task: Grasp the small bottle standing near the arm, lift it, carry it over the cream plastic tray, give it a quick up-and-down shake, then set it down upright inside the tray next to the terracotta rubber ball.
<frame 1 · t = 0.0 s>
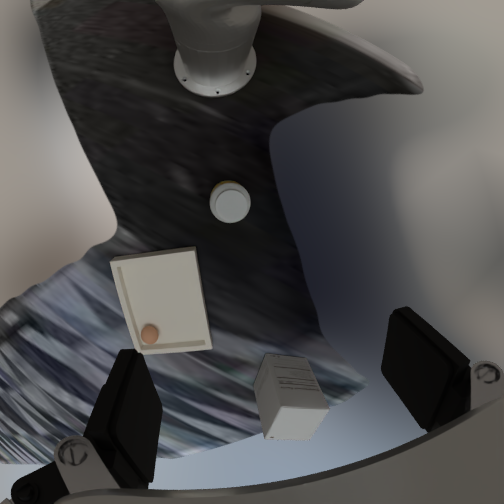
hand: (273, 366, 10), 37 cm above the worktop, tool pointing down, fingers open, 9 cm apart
ball: (151, 330, 48), point 1 cm above the worktop, touching tray
tray: (164, 301, 48), on the worktop
supplement bottle: (228, 197, 44), on the worktop
supplement box: (279, 371, 55), on the worktop
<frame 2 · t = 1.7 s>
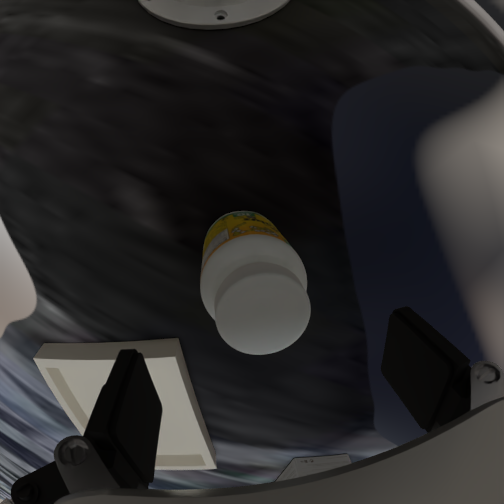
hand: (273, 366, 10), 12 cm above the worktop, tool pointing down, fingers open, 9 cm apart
tray: (134, 410, 25), on the worktop
supplement bottle: (242, 245, 21), on the worktop
supplement box: (309, 469, 33), on the worktop
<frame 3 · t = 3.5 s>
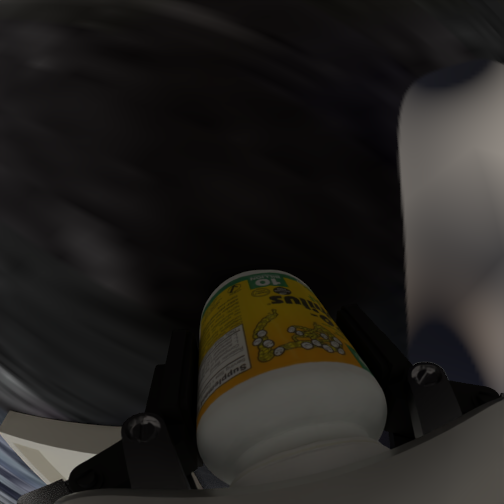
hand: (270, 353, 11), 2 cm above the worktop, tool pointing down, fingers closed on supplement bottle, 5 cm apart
tray: (124, 484, 17), on the worktop
supplement bottle: (260, 318, 13), on the worktop, touching gripper
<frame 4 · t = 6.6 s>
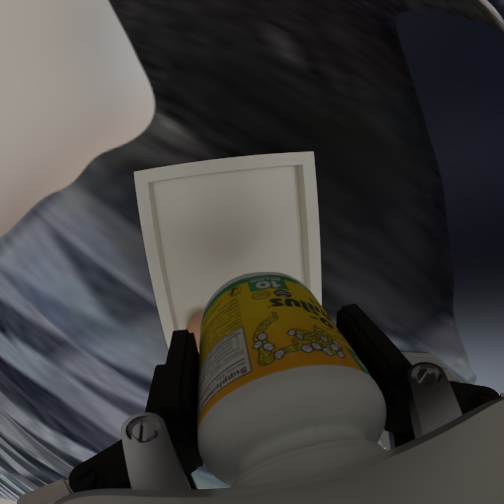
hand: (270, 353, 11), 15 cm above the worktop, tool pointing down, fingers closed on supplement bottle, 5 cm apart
ball: (204, 323, 26), point 1 cm above the worktop, touching tray
tray: (234, 263, 26), on the worktop
supplement bottle: (260, 320, 13), point 13 cm above the worktop, touching gripper
supplement box: (395, 378, 33), on the worktop
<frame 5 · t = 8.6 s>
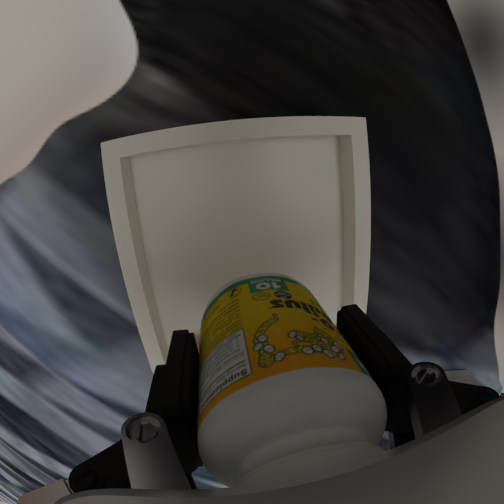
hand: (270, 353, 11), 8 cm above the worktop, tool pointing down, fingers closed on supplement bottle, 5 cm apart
tray: (248, 274, 18), on the worktop
supplement bottle: (260, 321, 13), point 5 cm above the worktop, touching gripper
supplement box: (427, 398, 26), on the worktop
when the fingers open (5 cm above the worktop, at t = 10.1 s): supplement bottle drops 2 cm, resting on tray.
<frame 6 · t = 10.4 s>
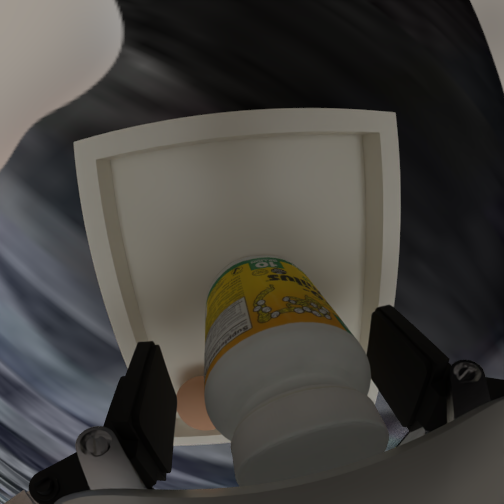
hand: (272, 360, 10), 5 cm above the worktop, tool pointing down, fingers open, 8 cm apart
ball: (204, 384, 16), point 1 cm above the worktop, touching tray
tray: (254, 297, 15), on the worktop
supplement bottle: (259, 300, 15), point 1 cm above the worktop, touching tray
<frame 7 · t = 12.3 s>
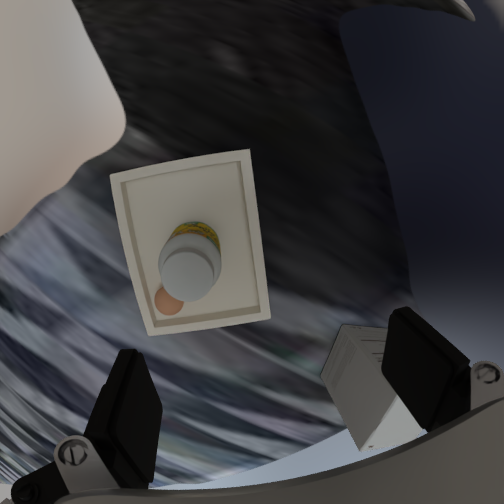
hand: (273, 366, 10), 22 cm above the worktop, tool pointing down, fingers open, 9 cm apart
ball: (171, 294, 31), point 1 cm above the worktop, touching tray
tray: (193, 244, 31), on the worktop
supplement bottle: (195, 244, 30), point 1 cm above the worktop, touching tray
supplement box: (356, 351, 38), on the worktop
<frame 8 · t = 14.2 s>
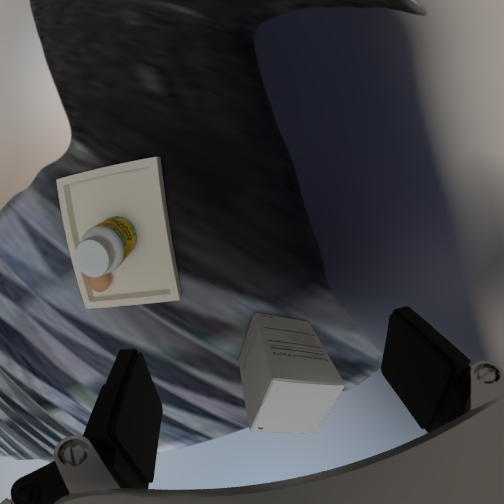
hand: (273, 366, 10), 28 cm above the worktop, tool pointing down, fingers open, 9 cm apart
ball: (103, 275, 36), point 1 cm above the worktop, touching tray
tray: (119, 234, 36), on the worktop
supplement bottle: (119, 235, 35), point 1 cm above the worktop, touching tray
supplement box: (273, 340, 43), on the worktop
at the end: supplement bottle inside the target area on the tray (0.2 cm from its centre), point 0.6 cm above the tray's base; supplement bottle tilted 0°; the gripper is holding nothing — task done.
